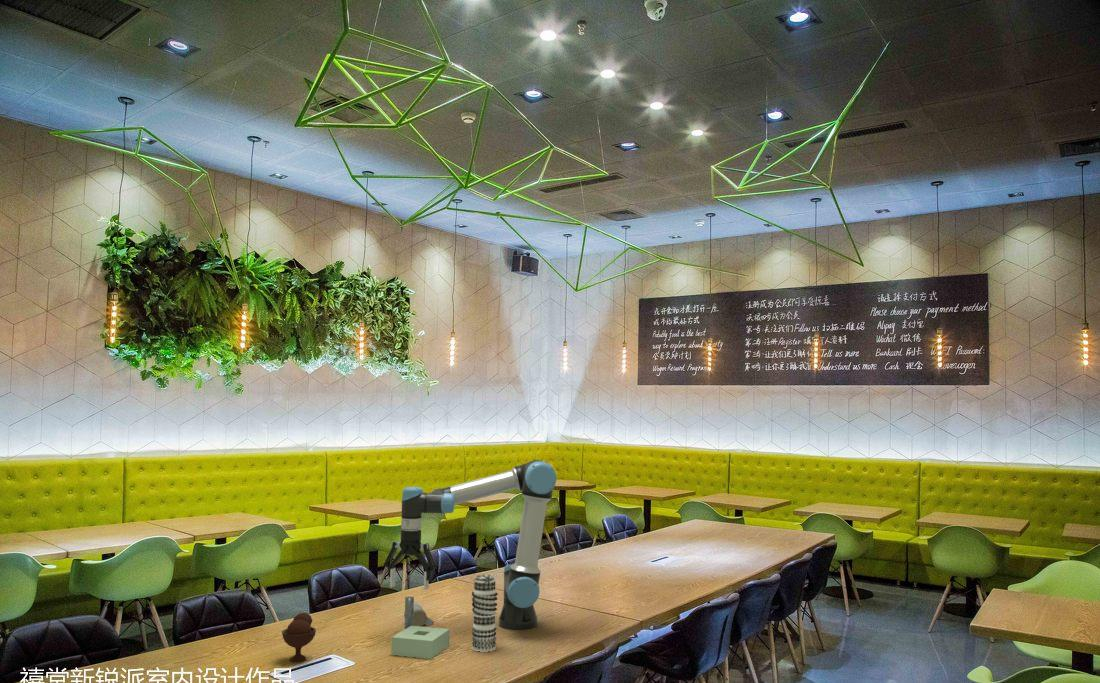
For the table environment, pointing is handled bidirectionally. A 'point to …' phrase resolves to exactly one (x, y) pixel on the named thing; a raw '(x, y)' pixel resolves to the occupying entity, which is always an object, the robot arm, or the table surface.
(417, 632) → the socket block
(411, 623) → the pin
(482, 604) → the decorative candle
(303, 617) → the ice cream bowl
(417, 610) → the ceramic mug
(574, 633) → the table surface
